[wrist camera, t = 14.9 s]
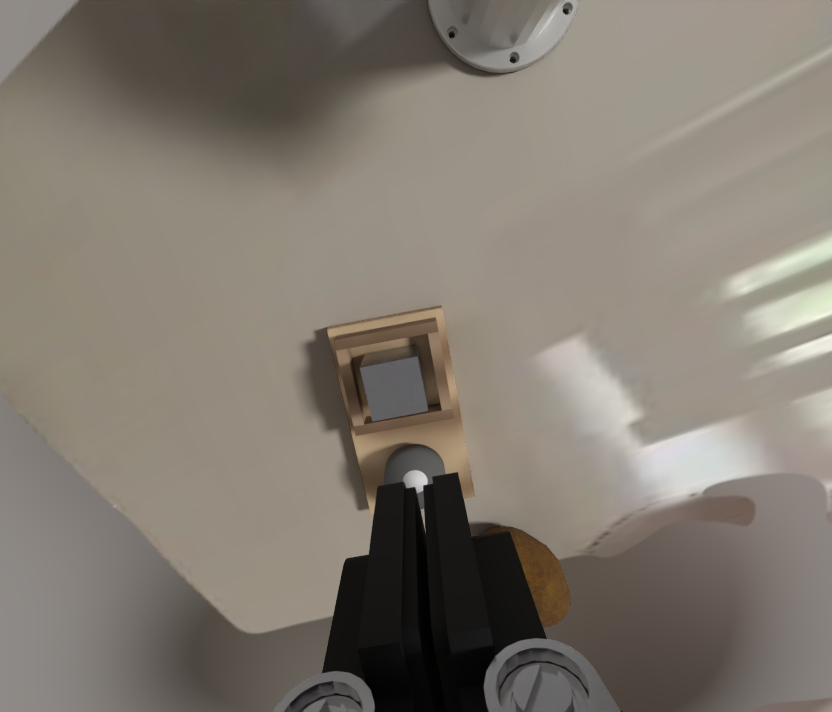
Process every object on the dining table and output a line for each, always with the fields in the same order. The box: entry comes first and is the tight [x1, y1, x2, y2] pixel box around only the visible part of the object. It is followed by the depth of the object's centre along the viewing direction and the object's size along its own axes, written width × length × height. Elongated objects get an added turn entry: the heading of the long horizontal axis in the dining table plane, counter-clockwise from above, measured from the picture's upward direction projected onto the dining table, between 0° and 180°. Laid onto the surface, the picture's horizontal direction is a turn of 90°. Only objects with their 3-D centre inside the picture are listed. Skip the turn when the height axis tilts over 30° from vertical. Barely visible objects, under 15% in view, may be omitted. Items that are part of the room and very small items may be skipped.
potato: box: [482, 527, 571, 627], centre depth 49 cm, size 8×12×8 cm, turn 49°
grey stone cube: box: [360, 344, 428, 422], centre depth 43 cm, size 5×5×5 cm
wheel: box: [384, 444, 446, 509], centre depth 46 cm, size 6×6×2 cm
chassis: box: [327, 306, 475, 514], centre depth 47 cm, size 20×11×4 cm, turn 11°
